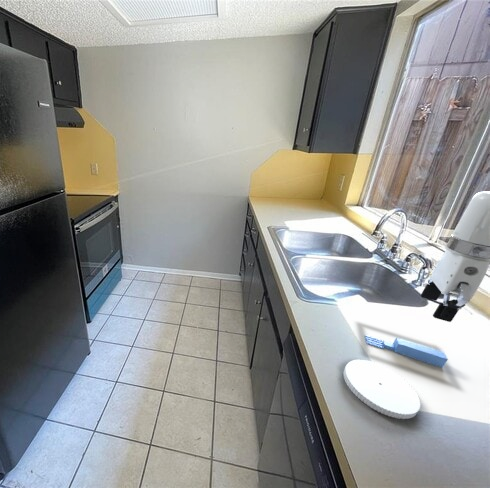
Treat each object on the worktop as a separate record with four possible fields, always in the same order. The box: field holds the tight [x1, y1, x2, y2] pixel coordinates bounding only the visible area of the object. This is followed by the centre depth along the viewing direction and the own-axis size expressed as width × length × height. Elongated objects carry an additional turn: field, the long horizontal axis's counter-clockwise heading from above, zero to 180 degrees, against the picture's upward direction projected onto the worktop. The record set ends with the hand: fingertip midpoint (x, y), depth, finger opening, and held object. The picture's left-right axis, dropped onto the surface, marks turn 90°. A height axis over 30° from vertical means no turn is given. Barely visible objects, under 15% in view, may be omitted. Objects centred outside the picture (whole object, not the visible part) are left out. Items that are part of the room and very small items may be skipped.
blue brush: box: [364, 334, 449, 368], centre depth 71 cm, size 16×4×4 cm, turn 61°
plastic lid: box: [342, 359, 422, 420], centre depth 60 cm, size 14×14×2 cm
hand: (434, 308), depth 65 cm, fingers open, 9 cm apart
